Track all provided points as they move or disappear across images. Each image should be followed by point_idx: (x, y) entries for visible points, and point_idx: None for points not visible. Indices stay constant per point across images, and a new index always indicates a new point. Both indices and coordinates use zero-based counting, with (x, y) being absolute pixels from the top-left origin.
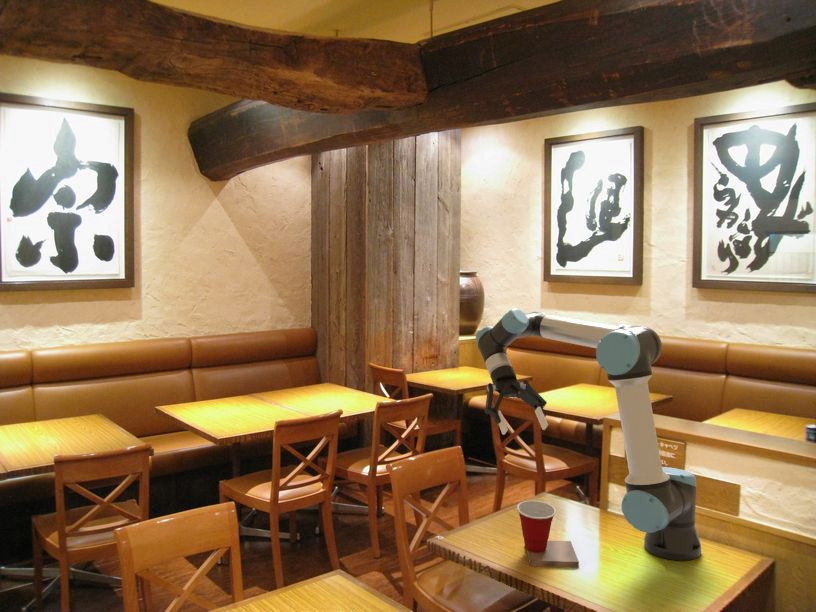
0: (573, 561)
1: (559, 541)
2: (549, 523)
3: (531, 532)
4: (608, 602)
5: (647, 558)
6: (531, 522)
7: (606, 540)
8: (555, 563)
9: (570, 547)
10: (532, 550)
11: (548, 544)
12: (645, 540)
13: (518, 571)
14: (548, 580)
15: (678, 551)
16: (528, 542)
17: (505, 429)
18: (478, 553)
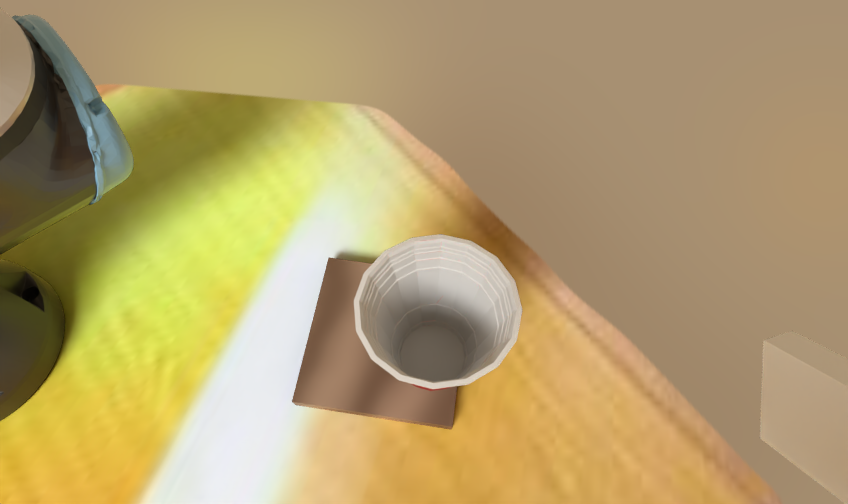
0: (343, 260)
1: (333, 402)
2: (395, 277)
3: (462, 291)
4: (332, 112)
5: (100, 295)
6: (468, 266)
7: (146, 439)
8: None
9: (314, 351)
10: (450, 326)
11: (380, 381)
12: (38, 354)
13: (507, 258)
14: (438, 207)
15: (1, 259)
16: (465, 322)
17: (799, 335)
18: (618, 381)
